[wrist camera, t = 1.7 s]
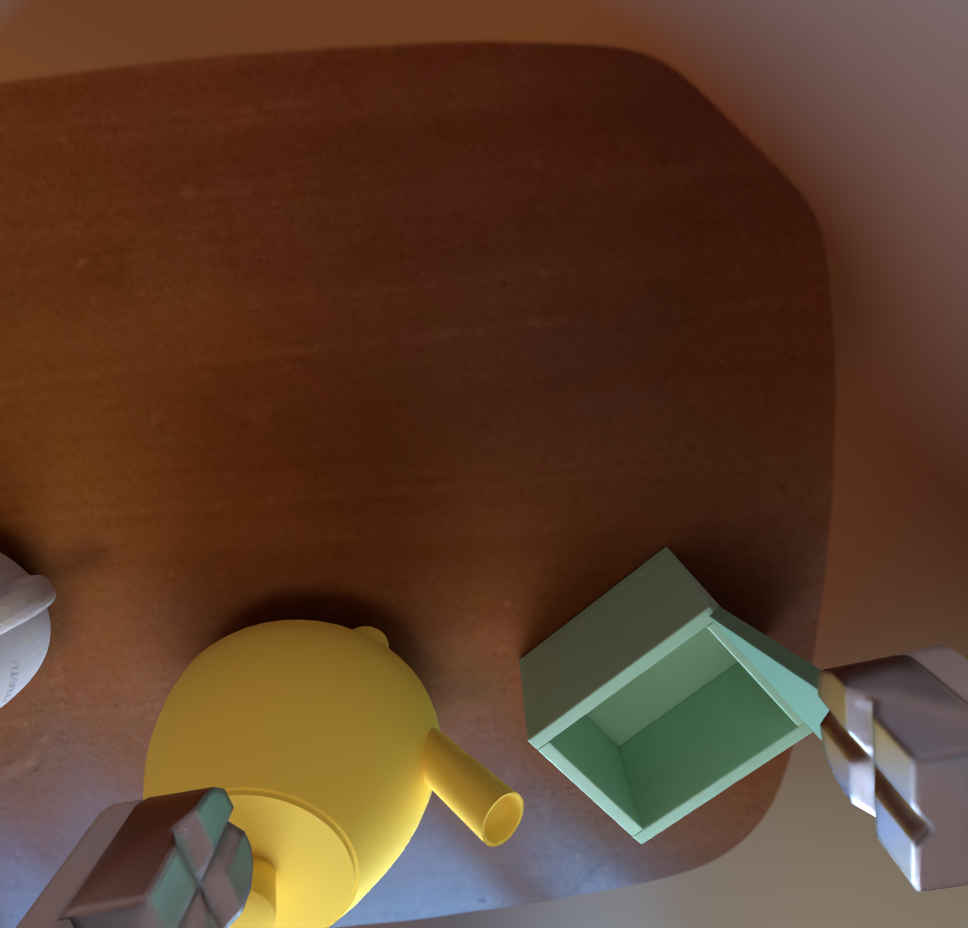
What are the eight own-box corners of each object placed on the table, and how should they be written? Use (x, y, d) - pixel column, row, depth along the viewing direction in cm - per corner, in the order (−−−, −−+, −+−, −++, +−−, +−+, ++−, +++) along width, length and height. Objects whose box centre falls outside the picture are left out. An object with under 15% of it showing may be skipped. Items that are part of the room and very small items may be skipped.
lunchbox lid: (1127, 979, 17) (1142, 962, 17) (971, 794, 15) (989, 774, 15) (819, 738, 29) (829, 728, 29) (708, 616, 27) (718, 605, 27)
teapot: (502, 568, 34) (516, 742, 21) (522, 776, 39) (543, 1026, 26) (172, 598, 35) (-16, 785, 21) (229, 800, 39) (102, 1058, 26)
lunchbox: (613, 750, 38) (641, 845, 32) (518, 659, 36) (527, 741, 30) (758, 648, 36) (820, 728, 29) (665, 545, 34) (710, 606, 27)
